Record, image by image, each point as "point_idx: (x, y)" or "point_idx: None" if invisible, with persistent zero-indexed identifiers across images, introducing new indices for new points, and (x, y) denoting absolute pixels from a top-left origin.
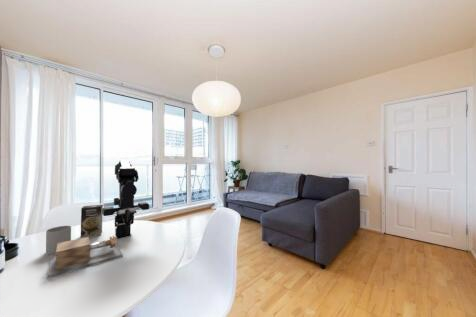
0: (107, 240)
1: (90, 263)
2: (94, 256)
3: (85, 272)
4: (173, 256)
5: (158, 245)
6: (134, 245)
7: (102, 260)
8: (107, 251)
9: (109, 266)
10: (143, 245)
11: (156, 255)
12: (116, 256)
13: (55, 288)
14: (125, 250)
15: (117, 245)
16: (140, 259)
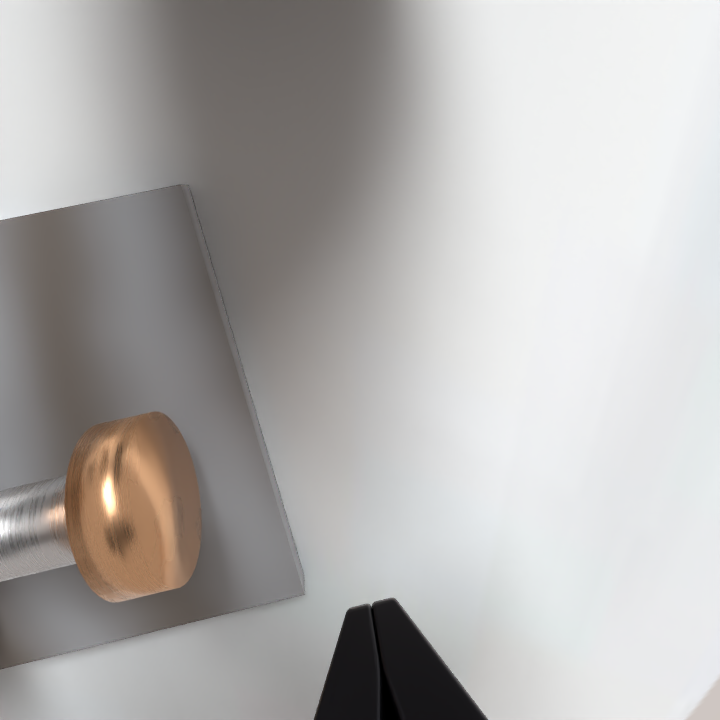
0: (59, 548)
1: (33, 660)
2: None
3: (46, 715)
4: (658, 701)
5: (644, 472)
6: (423, 352)
7: (131, 631)
8: None
9: (214, 691)
10: (514, 401)
11: (563, 650)
12: (249, 603)
13: None
14: (324, 448)
15: (220, 330)
16: None
